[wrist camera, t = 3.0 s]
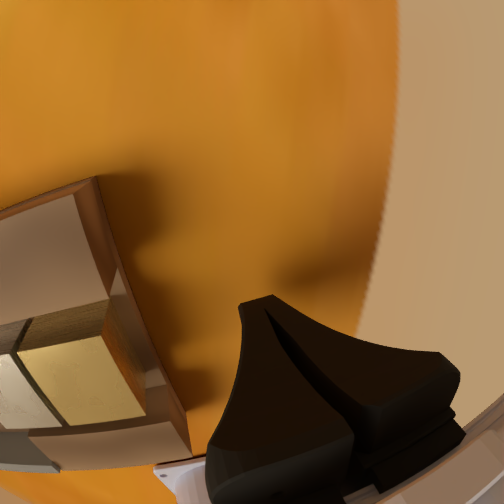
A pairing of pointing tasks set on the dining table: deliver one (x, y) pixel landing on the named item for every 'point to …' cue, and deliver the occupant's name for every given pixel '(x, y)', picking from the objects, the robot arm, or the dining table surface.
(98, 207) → the slot board
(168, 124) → the dining table surface
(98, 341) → the brass chip
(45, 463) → the tray
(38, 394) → the silvery white square block
